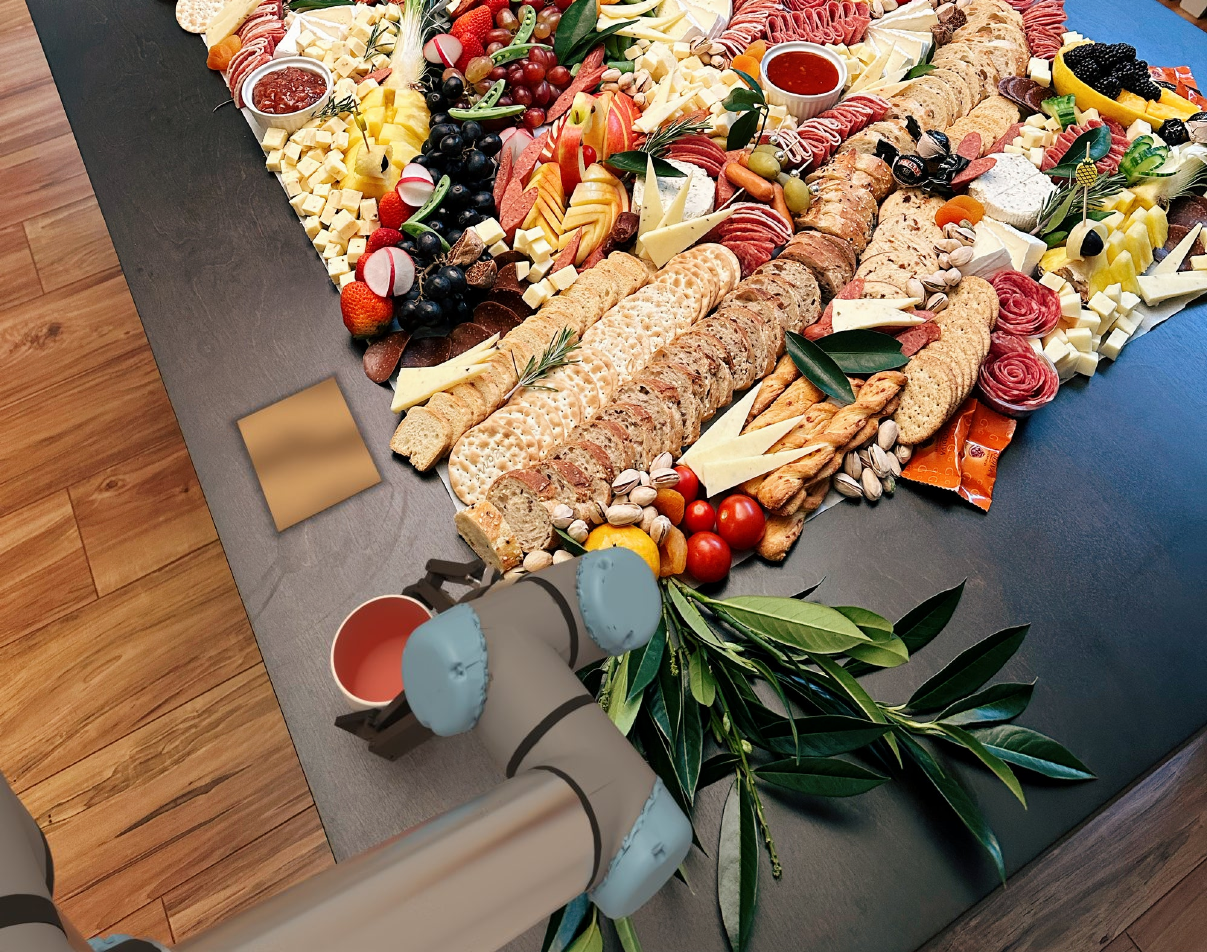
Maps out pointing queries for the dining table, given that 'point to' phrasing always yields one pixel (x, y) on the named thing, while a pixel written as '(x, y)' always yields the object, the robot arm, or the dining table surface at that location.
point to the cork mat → (307, 453)
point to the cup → (374, 649)
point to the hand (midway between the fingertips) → (367, 667)
